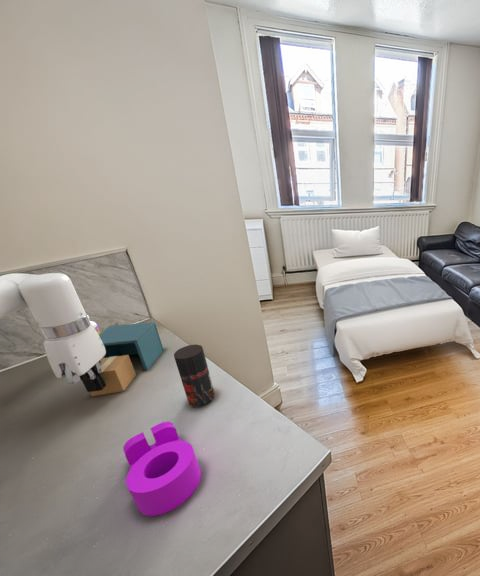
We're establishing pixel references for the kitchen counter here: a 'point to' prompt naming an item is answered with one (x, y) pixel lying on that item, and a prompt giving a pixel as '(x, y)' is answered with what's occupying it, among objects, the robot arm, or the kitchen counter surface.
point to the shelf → (133, 342)
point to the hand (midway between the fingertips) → (97, 388)
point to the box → (116, 374)
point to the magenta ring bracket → (161, 470)
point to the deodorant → (194, 375)
